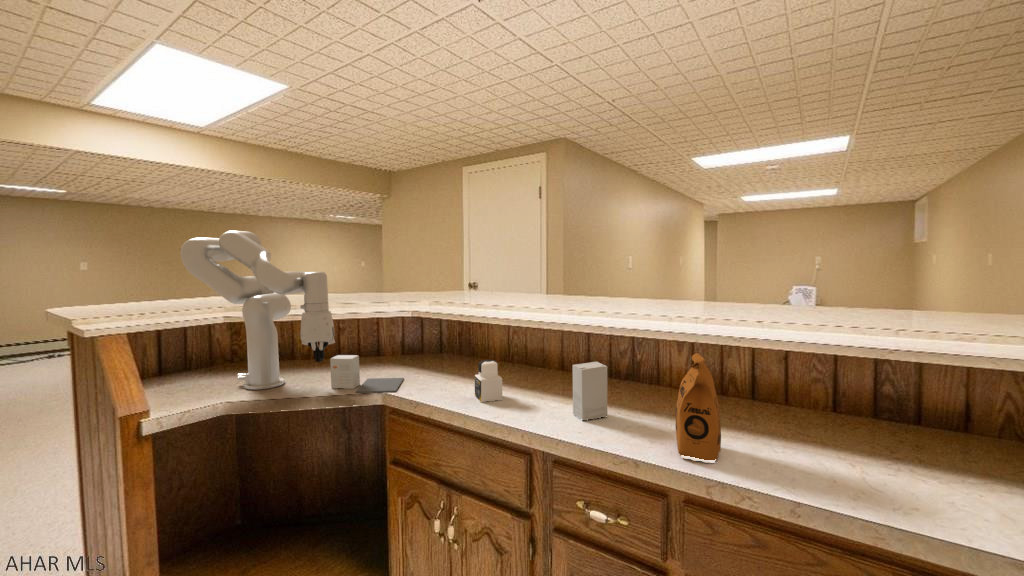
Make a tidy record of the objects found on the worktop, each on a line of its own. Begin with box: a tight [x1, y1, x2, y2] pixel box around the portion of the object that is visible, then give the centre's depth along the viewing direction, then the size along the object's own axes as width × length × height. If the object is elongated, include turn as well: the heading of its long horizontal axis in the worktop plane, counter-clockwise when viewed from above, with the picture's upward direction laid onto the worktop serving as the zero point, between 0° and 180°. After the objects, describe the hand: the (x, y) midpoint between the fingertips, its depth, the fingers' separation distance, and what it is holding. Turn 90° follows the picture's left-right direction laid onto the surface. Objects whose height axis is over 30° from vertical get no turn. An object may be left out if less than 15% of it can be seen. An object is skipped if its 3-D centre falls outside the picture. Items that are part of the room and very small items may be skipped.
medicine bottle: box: [474, 359, 503, 403], centre depth 147 cm, size 7×7×12 cm
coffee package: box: [674, 352, 722, 460], centre depth 106 cm, size 10×12×22 cm
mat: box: [355, 377, 405, 394], centre depth 162 cm, size 13×16×1 cm
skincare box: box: [572, 361, 608, 421], centre depth 130 cm, size 8×6×15 cm
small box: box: [329, 354, 361, 390], centre depth 161 cm, size 8×6×10 cm
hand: (319, 361), depth 160 cm, fingers closed
